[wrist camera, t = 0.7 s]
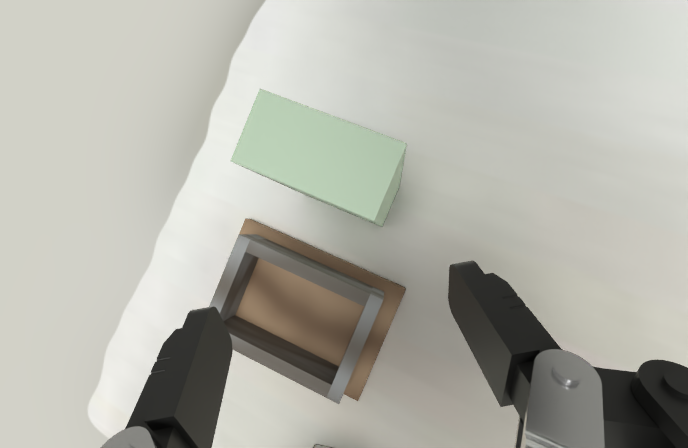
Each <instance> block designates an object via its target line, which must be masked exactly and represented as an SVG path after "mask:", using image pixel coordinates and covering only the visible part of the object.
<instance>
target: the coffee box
mask: <svg viewBox="0 0 688 448" xmlns="http://www.w3.org/2000/svg"><path fill="white" fill-rule="evenodd" d="M313 448H330V447H326V446H321V445H314V447H313Z"/></svg>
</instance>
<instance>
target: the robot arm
mask: <svg viewBox="0 0 688 448" xmlns="http://www.w3.org/2000/svg"><path fill="white" fill-rule="evenodd" d="M448 299H449V305H450V309H451V312H452V314H453V316H454V318H455V320H456V322H457V324H458V326H459V328H460V330H461V332H462V334H463V336H464V337H465V339H466V341H467V343H468V345H469V347H470V349H471V351H472V353H473V355H474V357H475V359H476V360H477V362H478V364H479V366H480V368H481V370H482V372H483V374H484V376H485V378H486V380H487V381H488V383H489V385H490V387H491V389H492V391H493V393H494V395H495V397H496V399H497V401H498V403H499V404H500V406H501V407H503V406H508V405H514V407H515V408H516V410H517V412H518V414H519V415H520V416H519V420H518V426H517V433H516V439H515V446H514V448H688V368H687V367H685V366H682V365H680V364H677V363H674V362H670V361H665V360H650V361H647V362H645V363H643V364H642V365H641V366H640V368H639V370H638V371H637V372H629V371H620V370H611V369H603V368H597V367H593V366H591V365H590V364H589V363H588V362H587V361H585V360H584V359H583V358H581V357H579V356H578V355H575V354H573V353H571V352H568V351H564V350H562V349H561V348H560V347H559V346H558V344H557V343H556V342H555V341H554V339H553V338H552V337H551V336H550V334H549V333H548V332H547V331H546V330H545V328H544V327H543V326H542V325H541V323H540V322H539V321H538V320H537V318H536V317H535V316H534V315H533V313H532V312H531V311H530V310H529V308H528V307H526V306H525V303H524V302H523V301H522V300H521V299H520V297H518V296H517V294H516V292H515V291H514V290H513V289H512V287H511V286H510V285H509V284H508V282H506V281H505V280H503V279H502V278H500V277H498V276H497V275H495V274H494V273H490V274H484V273H483V271H482V270H481V269H480V267H479V266H478V265H477V263H476V262H475V261H468V262H463V263H457V264H452V265H450V269H449V293H448ZM231 357H232V340H231V336H230V334H229V332H228V330H227V328H226V326H225V324H224V322H223V320H222V318H221V316H220V313H219V311H218V310H217V308H216V307H208V308H202V309H197V310H192V311H190V312H189V313H188V315H187V318H186V320H185V323H184V325H183V327H182V328H181V329H176V330H175V331H174V332H173V333H172V334H171V335H170V337H169V338H168V339H167V340H166V341H165V342H164V344H163V346H162V348H161V350H160V353H159V355H158V357H157V362H155V364H154V366H153V368H152V370H151V375H149V377H148V379H147V382H146V384H145V386H144V388H143V391H142V393H141V395H140V397H139V400H138V402H137V404H136V406H135V409H134V411H133V413H132V415H131V418H130V420H129V422H128V424H127V426H126V428H125V429H124V430H122V431H121V432H119V433H117V434H116V435H114V436H113V437H112V438H110V439H109V440H108V441H107V442H106V443H105V444H104V445H103V446H102V447H101V448H211V447H212V443H213V438H214V434H215V429H216V425H217V420H218V416H219V411H220V407H221V402H222V398H223V393H224V388H225V384H226V379H227V375H228V370H229V366H230V361H231Z"/></svg>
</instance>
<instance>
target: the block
mask: <svg viewBox="0 0 688 448" xmlns="http://www.w3.org/2000/svg"><path fill="white" fill-rule="evenodd" d="M406 146H407V143H404V142H401V141H399V140H396V139H393V138H391V137H388V136H385V135H383V134H380V133H377V132H375V131H372V130H369V129H367V128H364V127H361V126H359V125H356V124H353V123H351V122H348V121H345V120H343V119H340V118H337V117H335V116H332V115H329V114H327V113H324V112H321V111H319V110H316V109H313V108H310V107H308V106H305V105H302V104H300V103H297V102H294V101H292V100H289V99H286V98H284V97H281V96H278V95H276V94H273V93H270V92H268V91H265V90H262V89H260V90H259V92H258V95H257V97H256V100H255V102H254V105H253V107H252V109H251V112H250V114H249V117H248V119H247V122H246V124H245V127H244V129H243V132H242V134H241V136H240V139H239V141H238V144H237V146H236V149H235V151H234V154H233V156H232V159H231V162H234V163H236V164H238V165H240V166H242V167H245V168H247V169H249V170H251V171H254V172H256V173H258V174H260V175H262V176H265V177H267V178H269V179H271V180H274V181H276V182H278V183H280V184H282V185H285V186H287V187H289V188H291V189H294V190H296V191H298V192H300V193H302V194H305V195H307V196H309V197H312V198H314V199H317V200H319V201H321V202H324V203H326V204H329V205H331V206H333V207H336V208H338V209H340V210H343V211H345V212H348V213H350V214H352V215H355V216H357V217H360V218H362V219H364V220H367V221H369V222H372V223H374V224H376V225H379V226H381V227H382V226H383V224H384V222H385V219H386V217H387V215H388V212H389V210H390V207H391V205H392V203H393V200H394V198H395V196H396V193H397V191H398V189H399V186H400V180H401V174H402V169H403V163H404V157H405V151H406Z"/></svg>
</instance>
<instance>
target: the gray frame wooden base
mask: <svg viewBox="0 0 688 448" xmlns="http://www.w3.org/2000/svg"><path fill="white" fill-rule="evenodd" d="M405 290H406V289H405V287H403V286H401V285H398V284H396V283H394V282H391V281H389V280H387V279H385V278H382V277H380V276H378V275H376V274H373V273H371V272H369V271H367V270H364V269H362V268H360V267H358V266H355V265H353V264H351V263H349V262H346V261H344V260H342V259H340V258H337V257H335V256H333V255H331V254H328V253H326V252H324V251H322V250H319V249H317V248H315V247H313V246H310V245H308V244H306V243H303V242H301V241H299V240H297V239H294V238H292V237H290V236H288V235H285V234H283V233H281V232H279V231H276V230H274V229H272V228H270V227H267V226H265V225H263V224H261V223H258V222H256V221H254V220H252V219H245V221H244V224H243V226H242V228H241V231H240V233H239V235H238V238H237V240H236V243H235V245H234V248H233V250H232V252H231V255H230V257H229V260H228V262H227V265H226V267H225V270H224V272H223V274H222V277H221V279H220V282H219V284H218V287H217V289H216V291H215V294H214V296H213V299H212V301H211V304H210V306H209V307H216V308H217V310H218V311H219V313H220V316H221V318H222V320H223V322H224V324H225V326H226V328H227V330H228V332H229V334H230V336H231V340H232V349H233V350H235V351H237V352H239V353H241V354H243V355H245V356H246V357H248V358H250V359H252V360H254V361H256V362H258V363H260V364H262V365H264V366H266V367H268V368H270V369H272V370H274V371H276V372H278V373H280V374H281V375H283V376H285V377H287V378H289V379H291V380H293V381H295V382H297V383H299V384H301V385H303V386H305V387H307V388H309V389H311V390H313V391H314V392H316V393H318V394H320V395H322V396H324V397H326V398H328V399H330V400H332V401H334V402H336V403H338V404H339V403H340V400H341V398H342V395H343V394H345V395H347V396H349V397H351V398H353V399H355V400H357V401H358V400H359V397H360V395H361V393H362V390H363V388H364V386H365V383H366V381H367V379H368V376H369V374H370V372H371V369H372V367H373V365H374V362H375V360H376V358H377V355H378V353H379V351H380V348H381V346H382V344H383V341H384V339H385V337H386V334H387V332H388V330H389V327H390V325H391V323H392V320H393V318H394V316H395V313H396V311H397V309H398V306H399V304H400V302H401V299H402V297H403V295H404V292H405Z"/></svg>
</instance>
